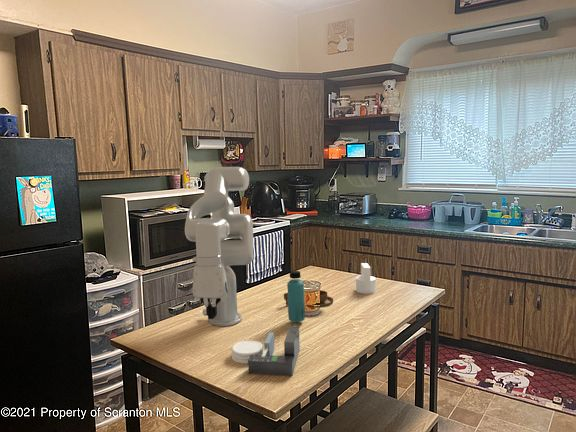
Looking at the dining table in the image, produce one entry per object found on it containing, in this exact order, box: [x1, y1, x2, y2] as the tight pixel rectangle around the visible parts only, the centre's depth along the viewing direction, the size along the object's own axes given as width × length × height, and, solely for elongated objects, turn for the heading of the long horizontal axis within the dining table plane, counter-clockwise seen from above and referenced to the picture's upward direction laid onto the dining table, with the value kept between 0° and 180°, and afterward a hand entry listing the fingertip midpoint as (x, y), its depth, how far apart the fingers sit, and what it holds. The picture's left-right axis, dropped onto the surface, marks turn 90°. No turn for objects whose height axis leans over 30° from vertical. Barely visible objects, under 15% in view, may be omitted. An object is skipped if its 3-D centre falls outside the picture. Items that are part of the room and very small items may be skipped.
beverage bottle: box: [286, 270, 306, 323], centre depth 164 cm, size 6×7×20 cm
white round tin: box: [231, 340, 264, 365], centre depth 138 cm, size 10×10×4 cm
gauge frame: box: [247, 325, 301, 377], centre depth 134 cm, size 13×17×8 cm
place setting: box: [283, 289, 334, 308], centre depth 187 cm, size 18×20×6 cm
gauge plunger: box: [262, 332, 275, 358], centre depth 134 cm, size 2×14×6 cm, turn 171°
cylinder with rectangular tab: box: [355, 262, 377, 295], centre depth 200 cm, size 9×9×12 cm
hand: (212, 317), depth 138 cm, fingers closed
